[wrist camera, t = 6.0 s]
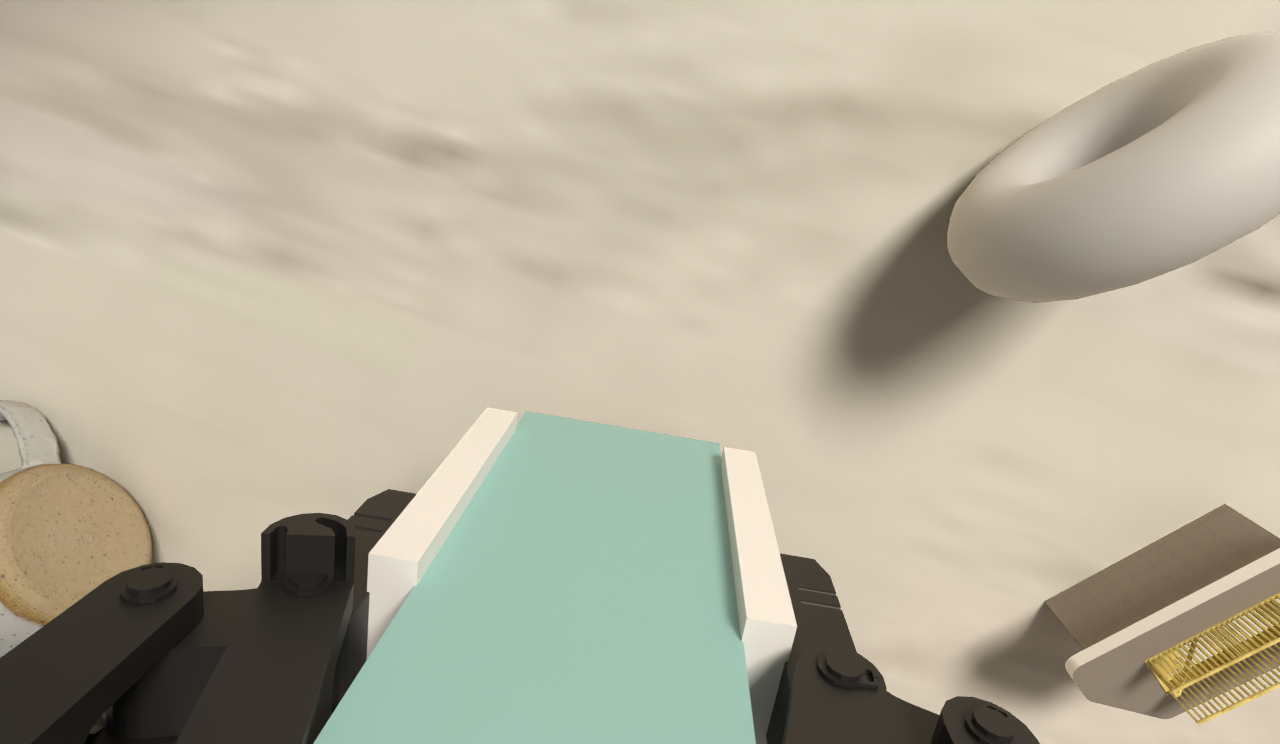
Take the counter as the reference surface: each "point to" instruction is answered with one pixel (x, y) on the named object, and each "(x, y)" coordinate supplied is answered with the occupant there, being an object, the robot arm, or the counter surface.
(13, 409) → the ceramic mug
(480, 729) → the tile
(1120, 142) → the donut
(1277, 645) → the platform
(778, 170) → the counter surface
